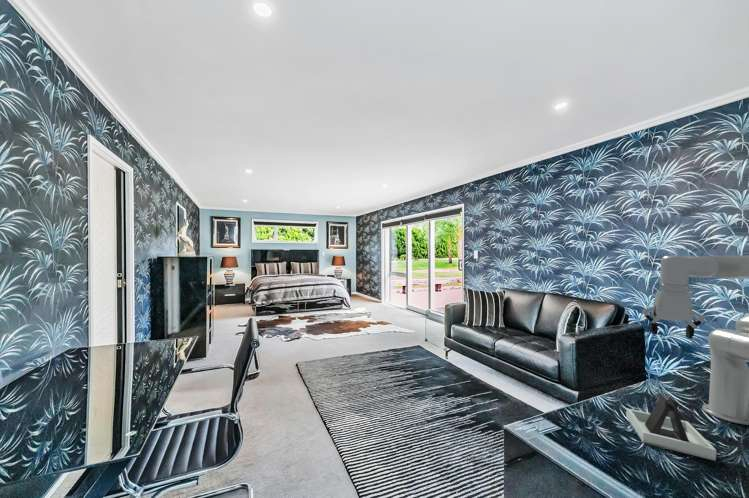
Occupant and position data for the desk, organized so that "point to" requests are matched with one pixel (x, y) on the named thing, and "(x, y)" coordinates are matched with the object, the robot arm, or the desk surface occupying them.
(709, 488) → the desk surface
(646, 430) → the tray
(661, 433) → the phone stand
